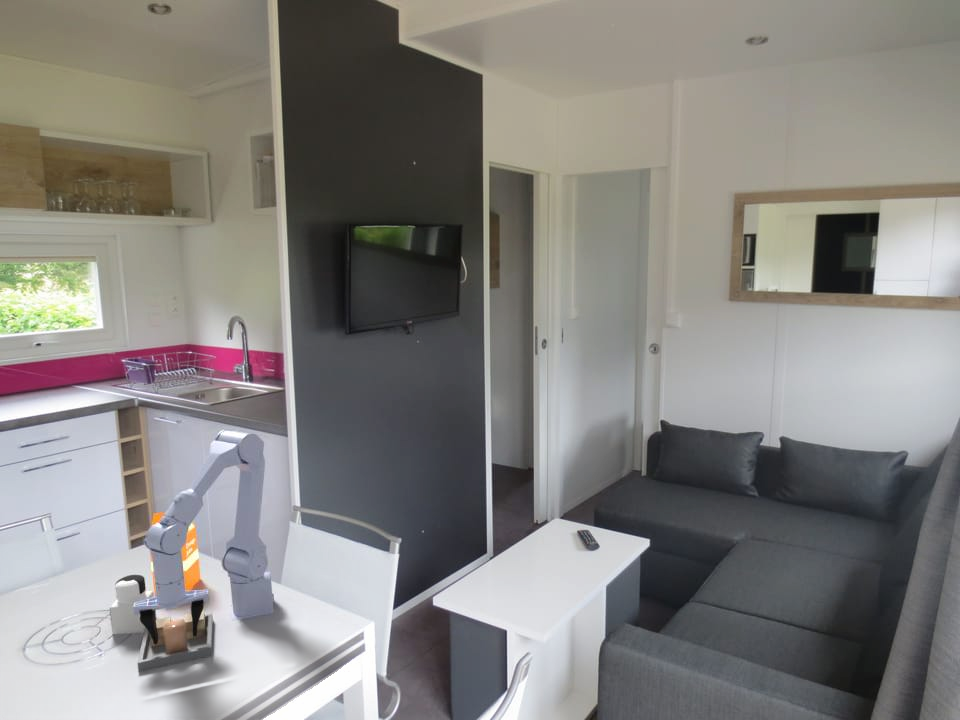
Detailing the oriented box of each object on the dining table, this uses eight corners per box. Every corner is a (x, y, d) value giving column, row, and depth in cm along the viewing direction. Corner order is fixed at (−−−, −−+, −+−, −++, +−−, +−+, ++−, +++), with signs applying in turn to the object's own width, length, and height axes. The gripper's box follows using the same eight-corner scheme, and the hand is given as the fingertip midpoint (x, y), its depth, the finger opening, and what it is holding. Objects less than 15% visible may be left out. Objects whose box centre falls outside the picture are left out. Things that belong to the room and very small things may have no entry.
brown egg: (187, 643, 149) (185, 617, 148) (188, 653, 145) (185, 627, 144) (165, 648, 147) (163, 622, 146) (165, 659, 143) (162, 632, 142)
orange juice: (188, 593, 173) (180, 518, 170) (153, 593, 173) (145, 519, 170) (201, 578, 180) (194, 506, 177) (168, 579, 181) (160, 507, 178)
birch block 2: (205, 626, 155) (204, 610, 155) (205, 635, 152) (203, 619, 151) (186, 630, 154) (185, 614, 153) (185, 639, 150) (184, 622, 150)
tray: (213, 623, 158) (212, 613, 158) (211, 658, 144) (210, 647, 144) (146, 636, 153) (145, 626, 153) (138, 674, 139) (137, 662, 139)
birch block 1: (172, 633, 153) (170, 616, 152) (171, 642, 149) (169, 625, 149) (153, 637, 152) (151, 620, 151) (151, 646, 148) (149, 629, 147)
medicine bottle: (125, 620, 161) (120, 572, 159) (157, 618, 161) (151, 570, 159) (112, 636, 154) (106, 587, 152) (145, 634, 154) (139, 585, 152)
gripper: (128, 593, 137) (136, 655, 140) (205, 580, 142) (211, 640, 144) (133, 578, 144) (140, 637, 146) (206, 566, 149) (212, 623, 151)
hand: (175, 637), depth 146 cm, fingers open, 7 cm apart
